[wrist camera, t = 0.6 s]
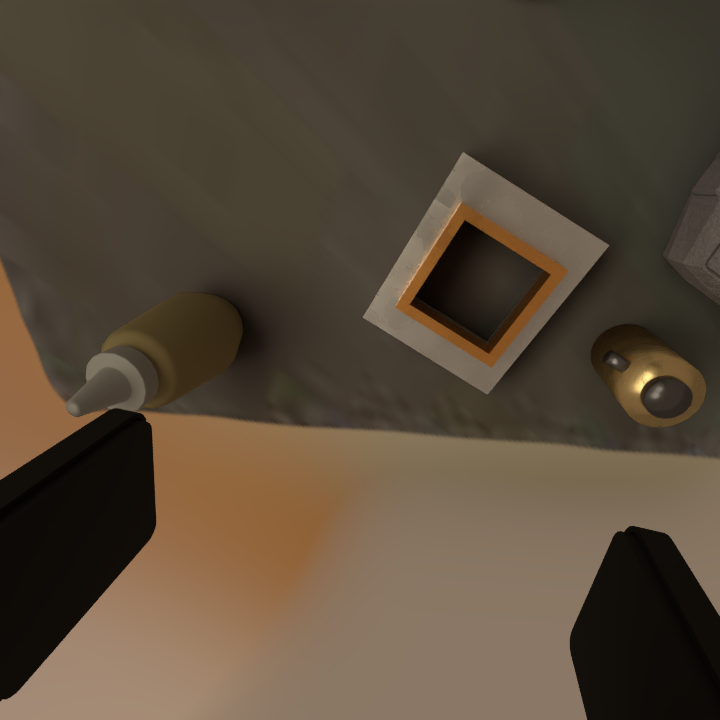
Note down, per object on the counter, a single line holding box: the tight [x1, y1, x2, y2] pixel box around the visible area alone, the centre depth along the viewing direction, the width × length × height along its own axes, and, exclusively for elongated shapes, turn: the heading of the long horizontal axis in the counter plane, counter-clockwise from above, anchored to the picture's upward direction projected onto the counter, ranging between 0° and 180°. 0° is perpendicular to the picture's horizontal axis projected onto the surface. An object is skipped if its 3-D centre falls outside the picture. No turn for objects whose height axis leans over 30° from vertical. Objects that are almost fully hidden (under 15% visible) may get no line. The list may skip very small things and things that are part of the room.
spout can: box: [591, 324, 706, 427], centre depth 34 cm, size 6×5×9 cm
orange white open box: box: [363, 153, 609, 394], centre depth 35 cm, size 14×12×6 cm
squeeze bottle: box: [66, 292, 243, 417], centre depth 36 cm, size 8×8×18 cm
